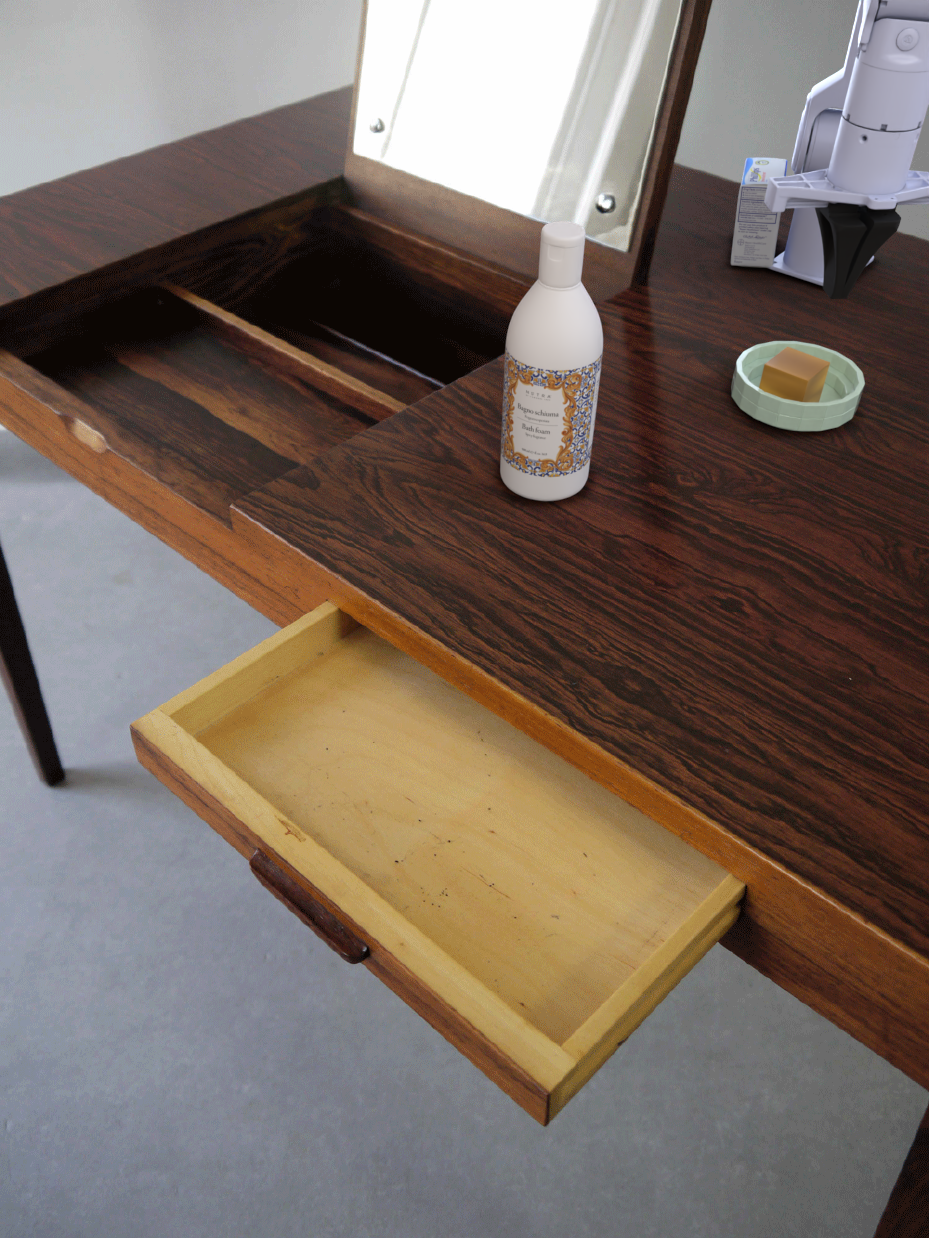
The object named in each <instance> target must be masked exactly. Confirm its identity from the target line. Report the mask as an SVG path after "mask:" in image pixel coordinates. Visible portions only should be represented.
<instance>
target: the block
mask: <svg viewBox="0 0 929 1238" xmlns="http://www.w3.org/2000/svg"><path fill="white" fill-rule="evenodd" d="M829 365H830V362H828V361H825V360H822V359H820V358H817V357H814V356H812V355H809V354H806V353H804V352H801V351H798V350H796V349H793V348H790V347H786V348H785V349H784V350H782V351H781V352H780V353H778V354H777V355H776V356H774V357H773V358H772V359H771V360H769V361H768V362H767V363H765V364H764V368H763V373H762V377H761V381H760V385H759V388H760V389H761V390H763V391H765V392H767V393H770V394H772V395H775V396H778V397H780V398H783V399H788V400H794V401H799V402H819V401H820V397H821V394H822V390H823V387H824V383H825V379H826V376H827V372H828V369H829Z"/></svg>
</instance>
